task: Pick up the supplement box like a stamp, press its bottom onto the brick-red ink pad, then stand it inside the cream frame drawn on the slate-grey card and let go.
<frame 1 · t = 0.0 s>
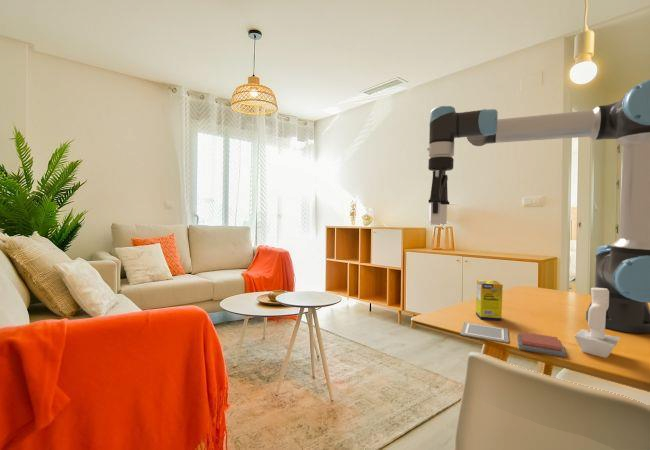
hand: (438, 224, 108), 28 cm above the table, fingers open, 13 cm apart
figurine: (596, 353, 78), on the table
supplement box: (488, 317, 103), on the table
ink pad: (539, 347, 80), on the table
marked card: (484, 332, 90), on the table
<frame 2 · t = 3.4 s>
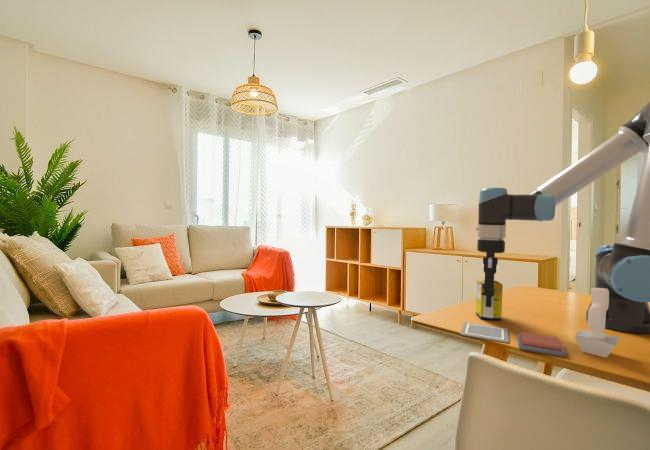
hand: (488, 313, 103), 1 cm above the table, fingers closed on supplement box, 7 cm apart
supplement box: (488, 317, 103), on the table, touching gripper
everything else where it was.
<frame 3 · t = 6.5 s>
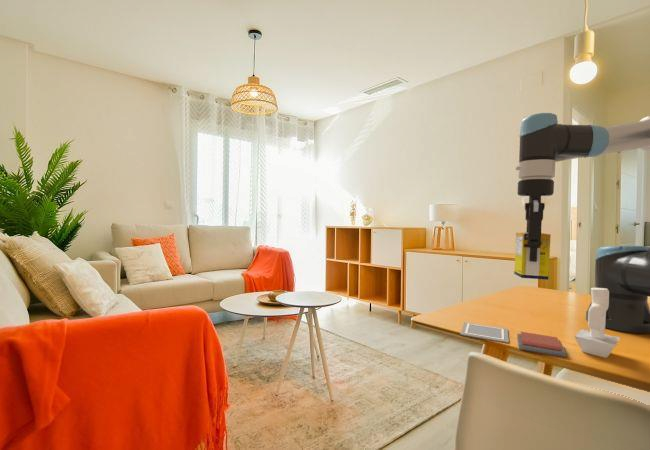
hand: (531, 272, 83), 17 cm above the table, fingers closed on supplement box, 7 cm apart
supplement box: (530, 277, 83), point 16 cm above the table, touching gripper
everything else where it was.
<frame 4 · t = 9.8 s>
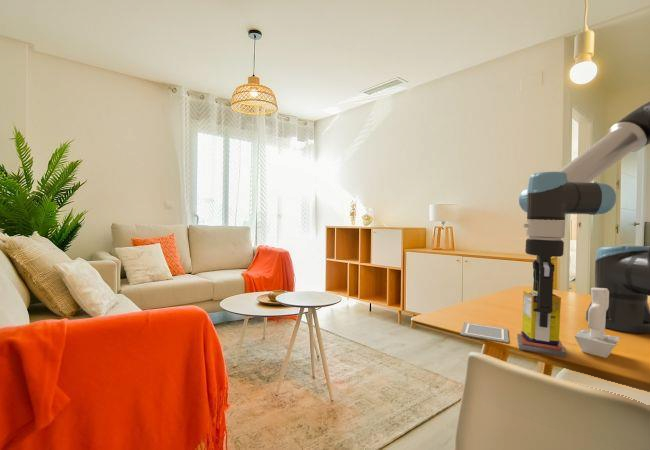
hand: (540, 334, 80), 3 cm above the table, fingers closed on supplement box, 7 cm apart
supplement box: (539, 339, 80), point 2 cm above the table, touching gripper, ink pad
everything else where it was.
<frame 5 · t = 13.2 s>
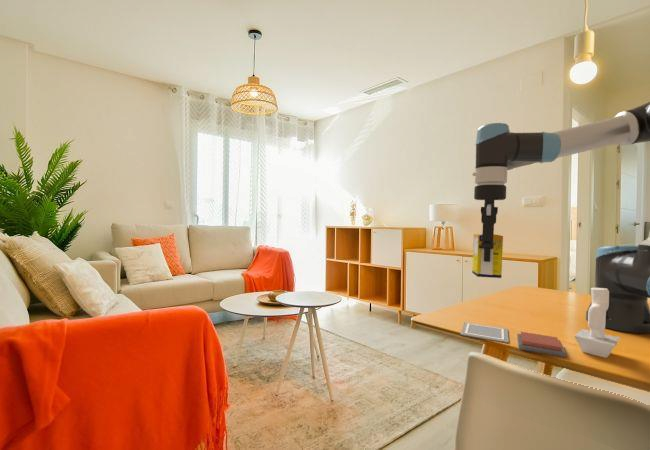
hand: (486, 271, 89), 16 cm above the table, fingers closed on supplement box, 7 cm apart
supplement box: (486, 276, 89), point 15 cm above the table, touching gripper
everything else where it was.
when the fingers open (2 cm above the table, at t = 16.3 s): supplement box moves 1 cm, resting on marked card.
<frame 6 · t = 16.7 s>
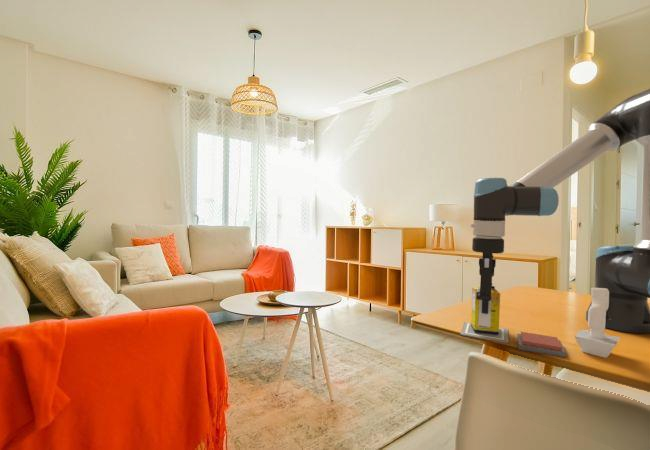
hand: (485, 319, 90), 4 cm above the table, fingers open, 11 cm apart
supplement box: (484, 330, 90), resting on marked card
everything else where it was.
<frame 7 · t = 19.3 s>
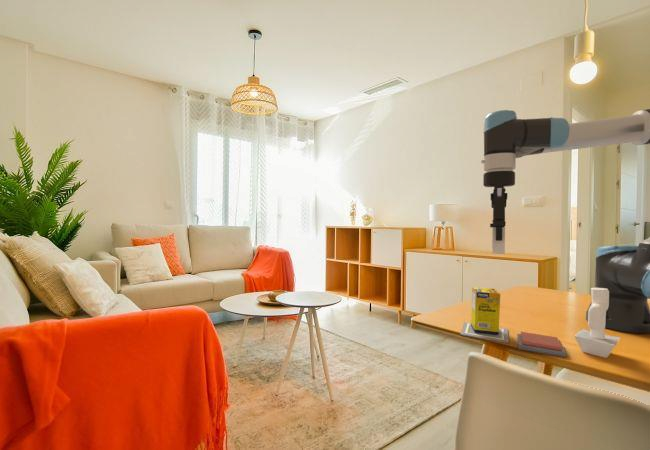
hand: (497, 251, 90), 22 cm above the table, fingers open, 13 cm apart
nothing on the table moved.
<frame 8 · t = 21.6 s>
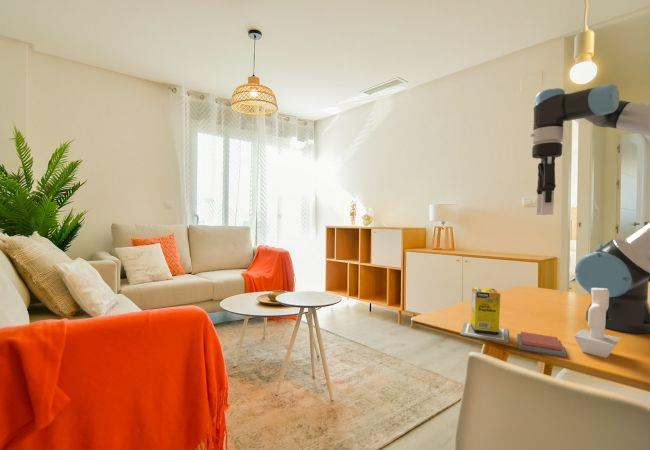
hand: (544, 214, 102), 32 cm above the table, fingers open, 13 cm apart
nothing on the table moved.
at the end: supplement box 0.8 cm off-centre on the marked card, point 0.2 cm above the marked card's base; supplement box tilted 1°; the gripper is holding nothing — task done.
